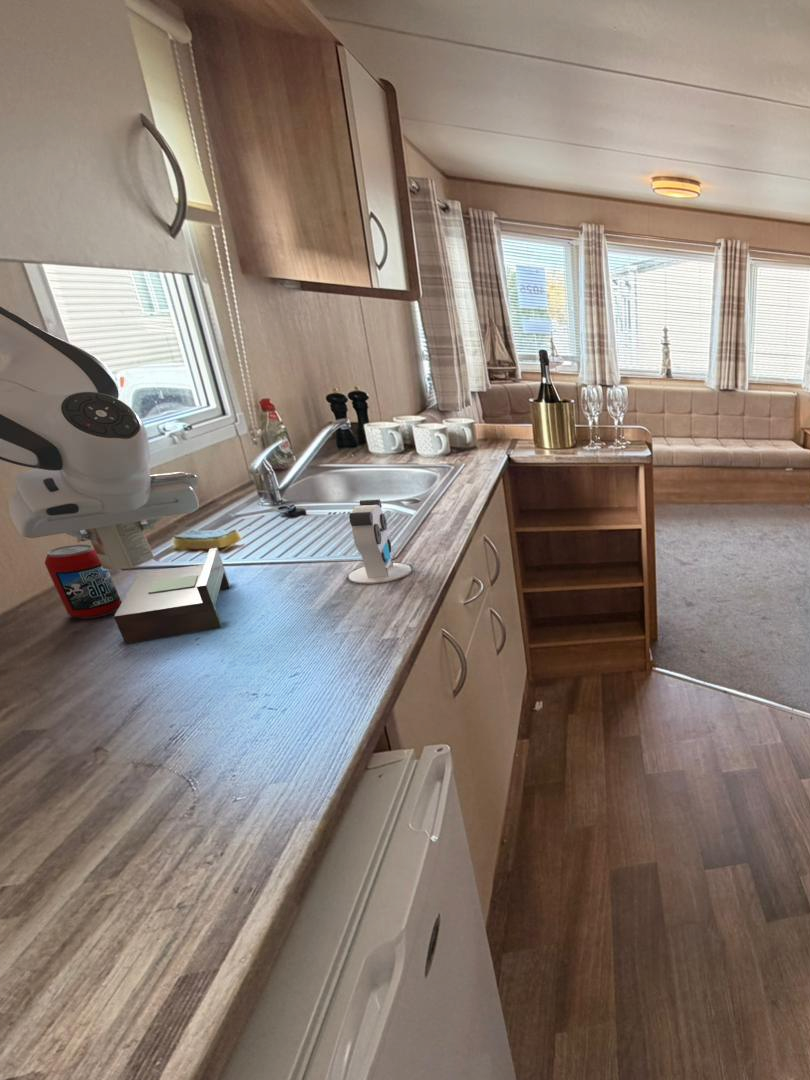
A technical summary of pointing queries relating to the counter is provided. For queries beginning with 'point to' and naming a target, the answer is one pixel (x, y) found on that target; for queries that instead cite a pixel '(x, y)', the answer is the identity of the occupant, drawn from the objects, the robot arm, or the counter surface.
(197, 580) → the shelf
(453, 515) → the counter surface
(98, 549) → the cream cardboard box
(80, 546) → the beverage can
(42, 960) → the counter surface
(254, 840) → the counter surface
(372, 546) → the panda figurine
